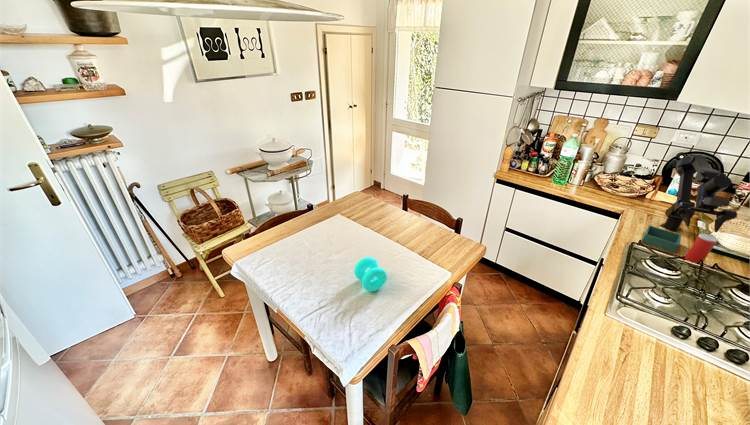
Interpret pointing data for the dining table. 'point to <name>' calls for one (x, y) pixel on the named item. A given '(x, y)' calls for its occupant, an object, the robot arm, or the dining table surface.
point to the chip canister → (701, 248)
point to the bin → (661, 239)
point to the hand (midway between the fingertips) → (701, 229)
